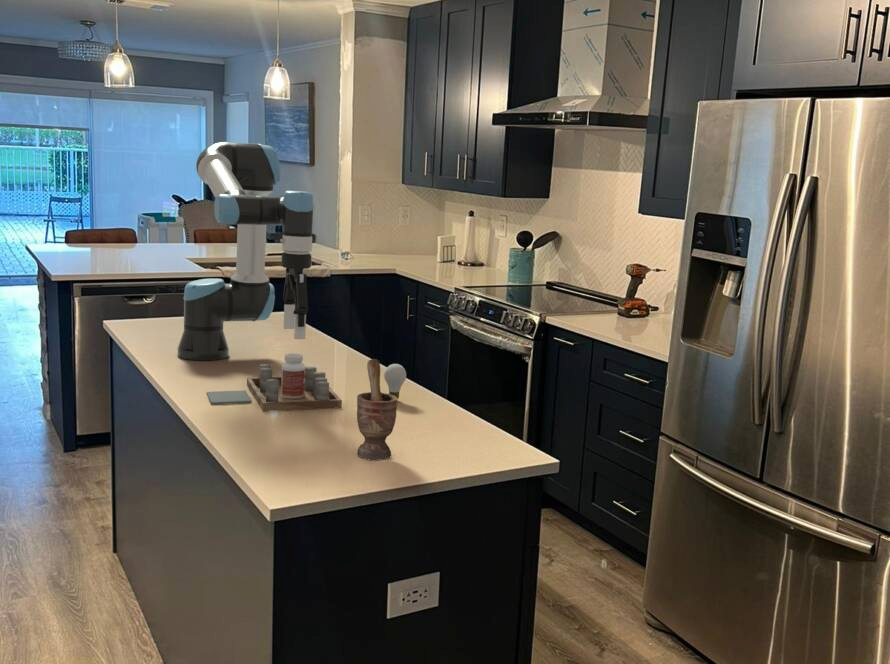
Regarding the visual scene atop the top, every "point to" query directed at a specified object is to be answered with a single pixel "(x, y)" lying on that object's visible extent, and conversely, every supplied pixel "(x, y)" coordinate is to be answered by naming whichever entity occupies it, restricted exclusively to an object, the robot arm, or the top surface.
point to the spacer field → (271, 387)
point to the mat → (228, 397)
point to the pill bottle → (293, 377)
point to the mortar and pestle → (375, 416)
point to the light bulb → (395, 378)
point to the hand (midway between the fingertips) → (294, 333)
